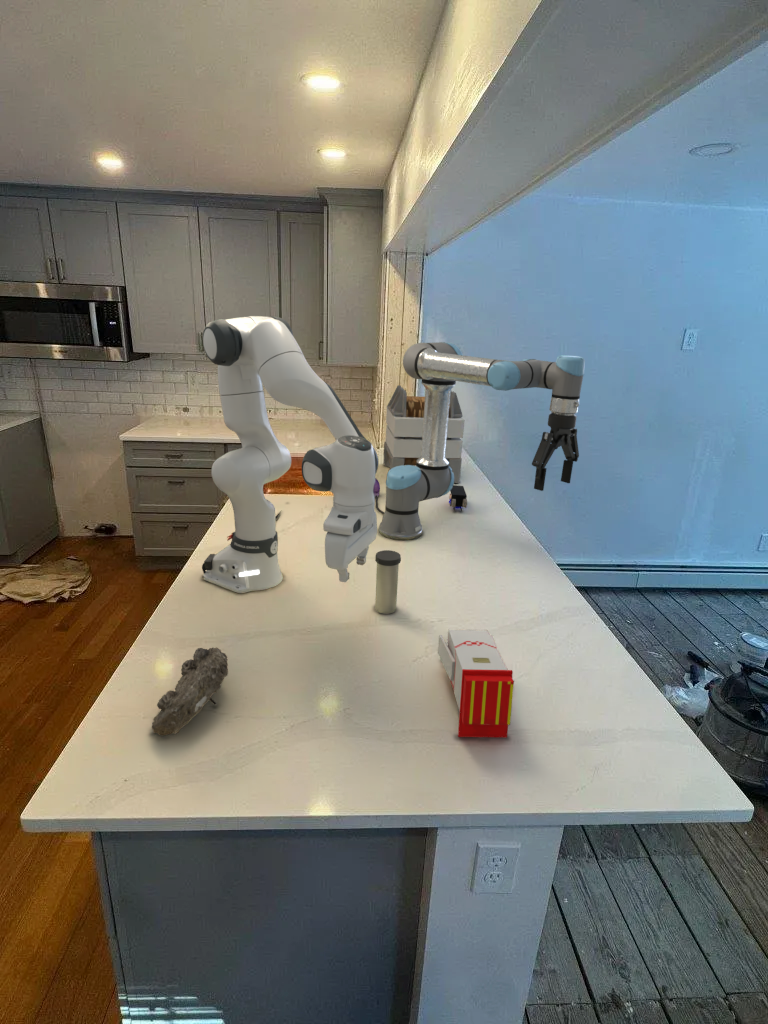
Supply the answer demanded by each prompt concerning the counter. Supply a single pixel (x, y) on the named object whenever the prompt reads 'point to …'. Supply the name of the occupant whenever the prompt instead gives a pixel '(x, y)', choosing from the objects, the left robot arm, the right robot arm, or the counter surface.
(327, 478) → the left robot arm
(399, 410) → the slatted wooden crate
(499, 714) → the toy
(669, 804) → the counter surface
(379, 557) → the lid
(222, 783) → the counter surface
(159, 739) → the counter surface
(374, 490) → the figurine
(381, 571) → the jar
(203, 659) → the fossil
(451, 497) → the figurine character
